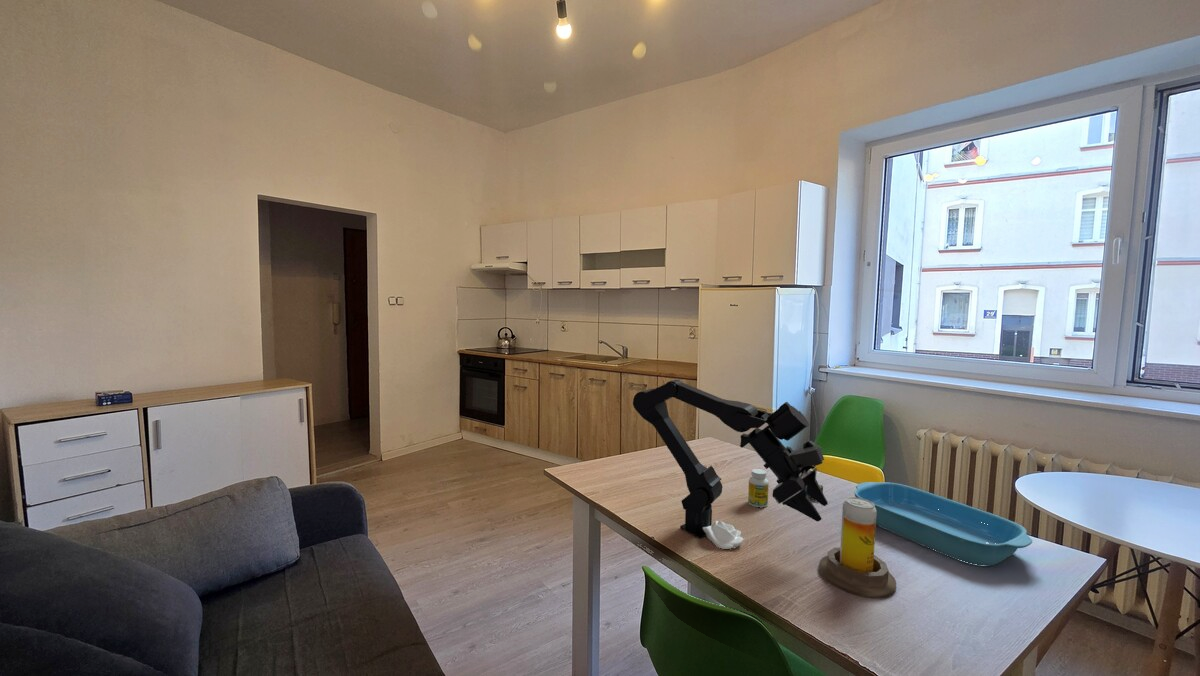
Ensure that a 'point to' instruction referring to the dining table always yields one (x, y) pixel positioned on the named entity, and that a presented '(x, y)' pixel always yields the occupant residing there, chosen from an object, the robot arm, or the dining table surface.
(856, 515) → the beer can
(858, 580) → the can holder
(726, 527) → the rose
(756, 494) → the supplement bottle
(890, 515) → the casserole dish
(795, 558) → the dining table surface
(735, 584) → the dining table surface
